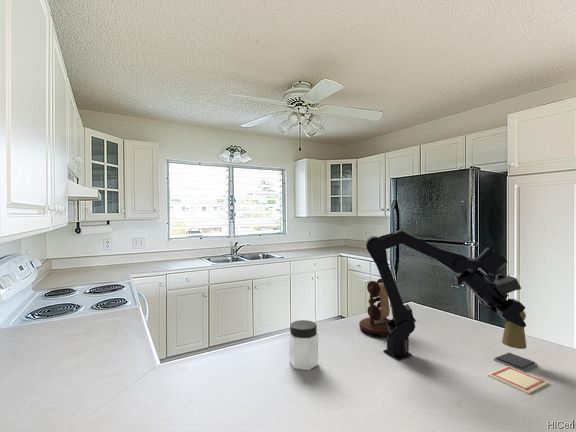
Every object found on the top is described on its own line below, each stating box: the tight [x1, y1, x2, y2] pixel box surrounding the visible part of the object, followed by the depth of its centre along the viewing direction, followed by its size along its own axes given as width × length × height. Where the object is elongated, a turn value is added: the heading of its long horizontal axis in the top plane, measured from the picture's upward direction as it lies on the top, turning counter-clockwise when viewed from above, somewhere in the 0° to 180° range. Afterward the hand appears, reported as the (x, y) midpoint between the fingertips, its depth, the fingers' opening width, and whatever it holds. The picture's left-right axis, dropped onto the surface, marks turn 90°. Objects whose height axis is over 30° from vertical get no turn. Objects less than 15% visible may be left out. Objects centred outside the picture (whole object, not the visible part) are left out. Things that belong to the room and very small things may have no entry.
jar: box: [288, 319, 319, 371], centre depth 94 cm, size 9×8×12 cm
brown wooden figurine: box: [358, 278, 391, 338], centre depth 120 cm, size 15×15×20 cm
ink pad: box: [493, 352, 538, 372], centre depth 94 cm, size 8×8×1 cm
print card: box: [487, 365, 550, 395], centre depth 84 cm, size 10×10×1 cm
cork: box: [501, 310, 527, 350], centre depth 94 cm, size 6×6×11 cm
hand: (520, 323), depth 93 cm, fingers closed on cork, 5 cm apart
